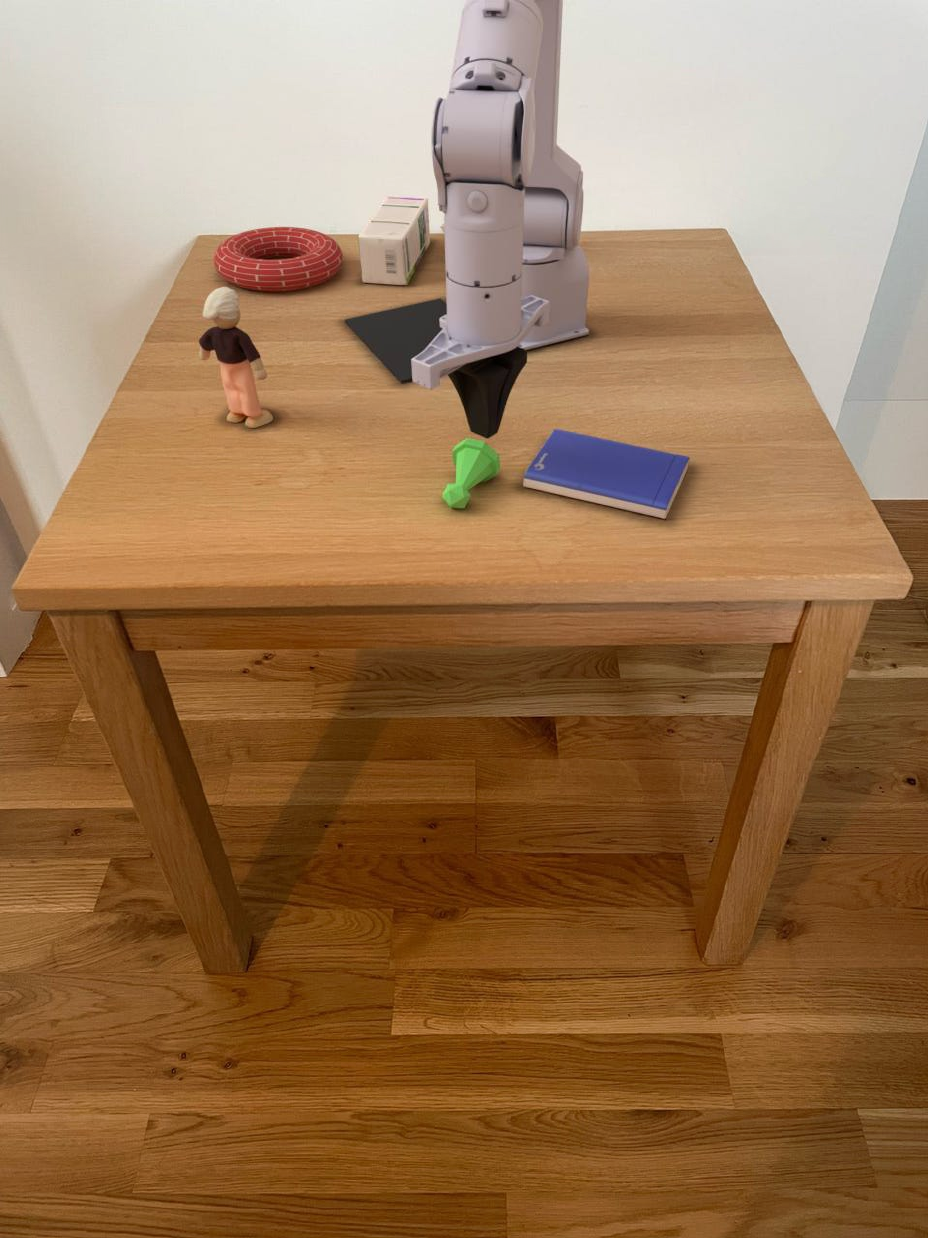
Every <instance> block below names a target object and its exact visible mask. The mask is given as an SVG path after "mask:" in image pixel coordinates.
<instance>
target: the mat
mask: <svg viewBox="0 0 928 1238" xmlns="http://www.w3.org/2000/svg"><path fill="white" fill-rule="evenodd" d="M446 314H447V302H445V300H443V299H442V298H441V297H440V298H436V299H432V300H426V301H423V302H422V301H421V302H418V303H414V304H413V303H412V304H409V305H404V306H399V307H395V308H391V309H386V310H382V311H377V312H372V313H369V314H363V315H360V316H355V317H351V318H346V319H344V323H345V324H346V325H347V326H348V327H349V328H350V329H351V331H352V332H354V334H355V335H356V336H357V337H358V338H359V339H360V340H361V341H362V342H363V343H364V345H365V346H366V347H367V348H368V349H369V350H370V351H371V353H373V354H374V356H376V357H377V359H378V360H379V362H381V363H382V364H383V365H384V367H386V368H387V370H388V371H389V372H390V373H391V374H392V375H393V376H394V377H395V378H396V379H397V380H398V381H399V382H400V383H401V384H404V383H409V382H413V381H412V364H411V359H412V358H414V357H415V356H417V355H419V354H420V353H421V352H423V351H424V350H425V349H426V347H427V346H428V345H429V344H430V343H431V342H432V341H433V339H434V338H435V337H436V336H437V335H438V334H439V333H440V331H441V330H442V329H443V328H441V327H440V318H441V317H442V316H444V315H446Z"/></svg>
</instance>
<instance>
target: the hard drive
mask: <svg viewBox="0 0 928 1238" xmlns="http://www.w3.org/2000/svg"><path fill="white" fill-rule="evenodd" d="M545 440H546V441H545V442H544V444H543V445H542V446H541V448H540V449H539V451H538V453H537V454H536V455H535V457H533V460H532V461H531V463H530V464H529V466H528V467H527V469H526V470H525V472H524V474H523V483H522V485H523V487H524V488H527V489H528V488H529V489H532V490H533V489H534V490H537V491H541V492H546V493H551V494H555V495H559V496H563V497H568V498H572V499H576V500H581V501H586V502H590V503H593V504H599V505H603V506H607V507H610V508H611V507H612V508H616V509H621V510H625V511H629V512H634V513H638V514H643V515H645V516H651V517H654V518H660V519H664V520H665V519H666V518H667V516H668V514H669V512H670V510H671V507H672V505H673V502H674V500H675V498H676V496H677V494H678V492H679V489H680V487H681V485H682V483H683V481H684V478H685V476H686V473H687V471H688V467H689V462H690V456H689V455H688V456H687V455H683V454H678V453H677V454H676V453H671V452H667V451H662V450H657V449H652V448H649V447H644V446H638V445H635V444H634V445H633V444H629V443H625V442H621V441H616V440H611V439H606V438H601V437H597V436H592V435H588V434H583V433H578V432H575V431H568V430H565V429H559V428H554V429H553V430H552V431H551V433H550V435H548V438H547V439H545Z"/></svg>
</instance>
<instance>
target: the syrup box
mask: <svg viewBox="0 0 928 1238" xmlns="http://www.w3.org/2000/svg"><path fill="white" fill-rule="evenodd" d="M429 211H430V210H429V198H427V197H413V196H391V195H390V196H389V195H388V196H387V195H386V196H384V198H383V200H382V202H381V203H380V204H379V206H378V207H377V208H376V210H375V211H374V213H373V214H372V216H371V217H370V218H369V220H368V221H367V223H366V224H365V225H364V227H363V228H362V230H361V231H360V233H359V234H358V236H357V241H358V242H357V243H358V252H359V262H360V271H361V273H360V274H361V281H362V283H368V284H380V285H393V286H395V285H396V286H408V284H409V283H410V281H411V279H412V277H413V275H414V273H415V272H416V269H417V268H418V266H419V265H420V262H421V261H422V258H423V257H424V255H425V253H426V251H427V249H428V247H429V246H430V244H431V233H430V232H431V231H430V213H429Z"/></svg>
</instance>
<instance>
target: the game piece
mask: <svg viewBox="0 0 928 1238" xmlns="http://www.w3.org/2000/svg"><path fill="white" fill-rule="evenodd" d="M451 453H452V460H453V466H454V467H455V483H447V485H446V486H445V489H444V490H443V492H442V495H441V498H442V499H443V501H444V502H445V504H447V506H448V507H449V508H450V509H465V508H466V506H467V504H468V502H469V500H470V498H471V493H470V492H469V490H471V489H472V488H473V487H475V486H476V485H477V484H479V483H480V482H487V481H489V480H491V479H493V478H495V476H497V475H498V474H499V472H500V470H501V466H500V465H501V464H500V454H499V453H498V452H497V451H496V450H494V448H492V446H490V445H489V444H488V443H487V442H486V441H484V440H478V439H473V438H469V437H466V438H465V439H463V440H461V441H460V442H459V443H457V444H456V445H455V446H454V448H453V450H452V451H451Z"/></svg>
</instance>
